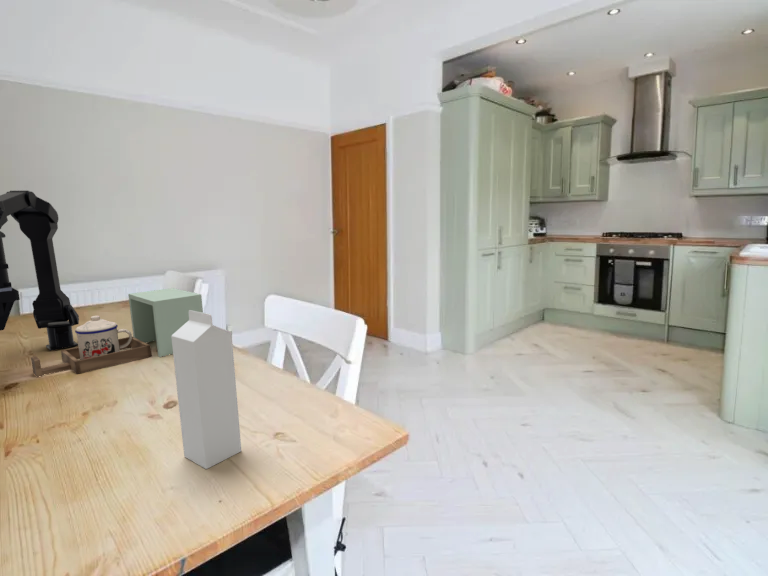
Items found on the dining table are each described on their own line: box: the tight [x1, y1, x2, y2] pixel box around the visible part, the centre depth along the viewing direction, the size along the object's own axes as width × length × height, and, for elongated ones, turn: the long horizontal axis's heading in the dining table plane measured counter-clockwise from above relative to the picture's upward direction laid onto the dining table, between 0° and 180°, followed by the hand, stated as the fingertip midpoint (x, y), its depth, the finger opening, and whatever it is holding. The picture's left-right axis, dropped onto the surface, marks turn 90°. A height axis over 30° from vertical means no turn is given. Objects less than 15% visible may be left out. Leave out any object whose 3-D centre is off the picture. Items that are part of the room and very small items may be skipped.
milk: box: [171, 310, 242, 470], centre depth 64 cm, size 6×6×22 cm
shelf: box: [127, 287, 204, 358], centre depth 123 cm, size 19×12×15 cm, turn 47°
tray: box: [30, 336, 153, 378], centre depth 110 cm, size 14×23×4 cm, turn 137°
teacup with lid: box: [74, 315, 133, 360], centre depth 112 cm, size 12×9×12 cm
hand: (0, 329), depth 97 cm, fingers closed
